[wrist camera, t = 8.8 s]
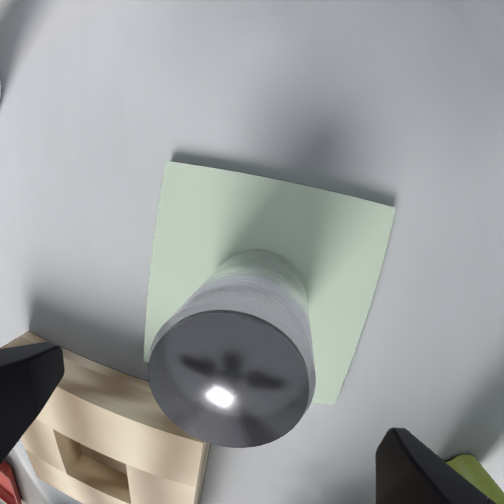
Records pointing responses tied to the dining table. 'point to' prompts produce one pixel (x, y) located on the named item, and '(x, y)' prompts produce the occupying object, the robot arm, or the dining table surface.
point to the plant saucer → (8, 485)
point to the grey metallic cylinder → (237, 354)
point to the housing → (111, 439)
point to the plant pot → (477, 476)
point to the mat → (276, 240)
